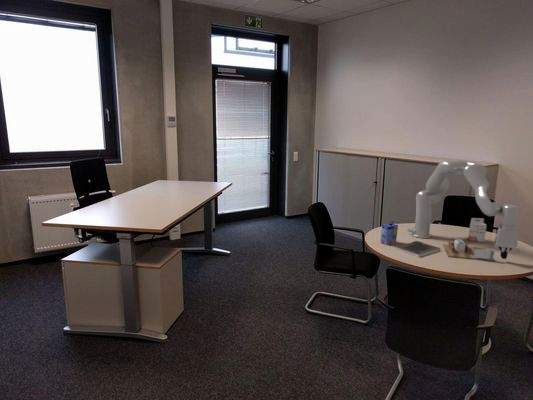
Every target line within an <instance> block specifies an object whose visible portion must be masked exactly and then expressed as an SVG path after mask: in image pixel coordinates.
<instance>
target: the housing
mask: <svg viewBox="0 0 533 400" xmlns="http://www.w3.org/2000/svg"><path fill="white" fill-rule="evenodd" d="M454 242H455V241H448V244H446V243H445V244H444V243H443V244H442V248H443V249H444V252H445V253H446V256H447V258H453V259H454V258H456V259H465V260H474V261H475V260H476V261H487V262H495V259H494V258H493V260H490V259H481V258H473V256H474V249H479V250H487V249H486V247H478V246H469V245H468V243H465V242H464V243H465V250H464V252H457V251H455V249H454Z"/></svg>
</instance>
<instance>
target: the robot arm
mask: <svg viewBox="0 0 533 400" xmlns="http://www.w3.org/2000/svg"><path fill="white" fill-rule="evenodd" d="M448 175H451V176H455V175H456V176H457V175H463V176H464V178H465V179H466V181H467V182H468V184H470V186H471V188H472V190H473V191H474V197H475V202H476V204H477V206H478V207H479V209H480V211H481V212H482V213H483V214H484V215H485V216H487V217H495V216H501V218H500V223H497V224H496V226H497V227H498V228H497V231H496V235H495V239H494V245H493V247H494V248H495V249H499V250H500V256H499V257H501V259H502V260H507V258H508V253H509V252H510V251H512V250H517V247H518V229H517V223H518V216H519V210H520V209H519V206H518V205H515V204H508V203H505V202H503V201H493V202H492V201H491V199H490V198H489V196H488V194H487V191H488V189H489V187H490V183H489V181H488V180H487V178H486V177H485V176H486V175H487V168H486V166H485V165H483V164H481V163H477V162H474V161H473V162H472V161H468V160H467V161H466V160H451V161H450V160H444V161H441V162H439V163H438V164H437V166H436V167H435V169H434V171H433V172H432V173H431V175H430V177H429V178H428V180H427V181H426V183H425V189H424V190H421V191H420V190H419V191H418V192H417V193H416V195H415V203H416V207H415V209H416V212H415V221H414V222H415V223H414V227H413V228H407V229H406V230H407V232H408V233H411V236H413V237H415V238H420V239H431V238H432V234H431V233H430V229H431V222H432V221H431V219H432V207H431V204H436V203H439V202H440V200H441V199H442V198H443V197H444V195H445V193H446V192H447V191H448V189H449V187H450V180H449V179H448V178H447V177H449V176H448Z"/></svg>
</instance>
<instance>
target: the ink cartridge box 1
mask: <svg viewBox="0 0 533 400" xmlns="http://www.w3.org/2000/svg"><path fill="white" fill-rule="evenodd" d="M394 222H395V221H390V222H389V223H385V224H382V225H381V232H380V243H381V244H383V245H386V246H388V245H391V244H396V243H397V239H398V238H397V236H398V230H399V229H398V228H399V224H397V223H394Z"/></svg>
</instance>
